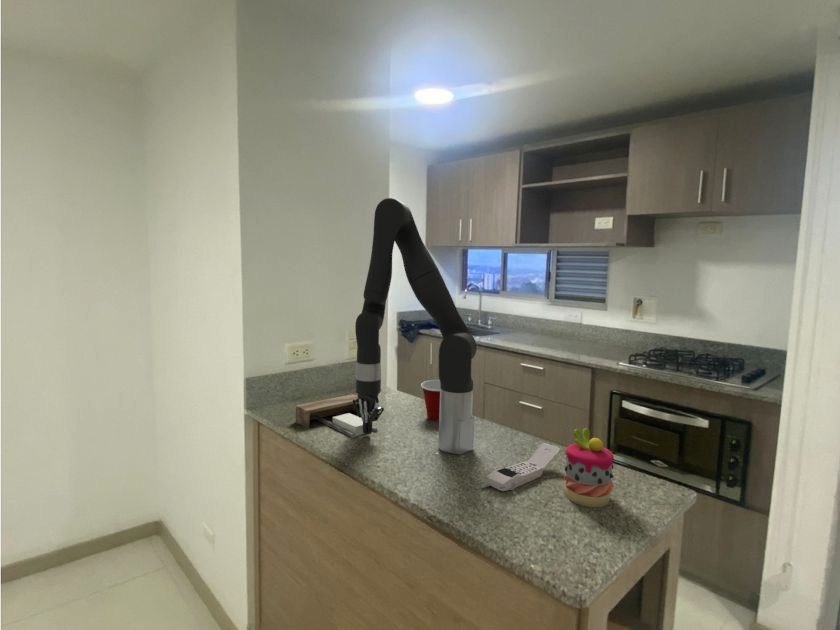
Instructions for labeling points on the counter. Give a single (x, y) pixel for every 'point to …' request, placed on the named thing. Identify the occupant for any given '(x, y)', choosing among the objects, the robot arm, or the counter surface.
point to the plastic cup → (432, 398)
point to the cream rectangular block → (349, 423)
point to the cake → (588, 471)
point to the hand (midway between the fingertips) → (367, 433)
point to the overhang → (326, 411)
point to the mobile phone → (522, 469)
